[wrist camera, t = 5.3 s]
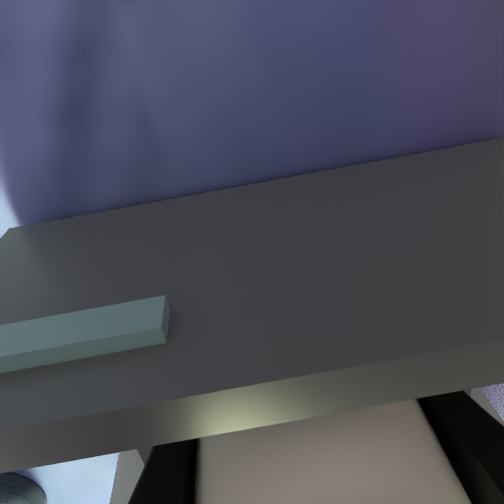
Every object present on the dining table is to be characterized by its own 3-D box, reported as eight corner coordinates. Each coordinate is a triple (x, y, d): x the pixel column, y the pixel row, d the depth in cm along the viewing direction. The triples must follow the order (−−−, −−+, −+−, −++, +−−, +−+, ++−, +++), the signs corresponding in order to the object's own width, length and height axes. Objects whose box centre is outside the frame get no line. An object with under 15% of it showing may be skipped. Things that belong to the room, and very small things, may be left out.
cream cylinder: (402, 297, 10) (509, 464, 6) (397, 443, 12) (472, 619, 9) (176, 335, 10) (158, 524, 6) (217, 474, 12) (221, 662, 9)
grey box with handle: (516, 123, 11) (839, 260, 5) (478, 394, 16) (626, 614, 10) (3, 218, 11) (-207, 449, 6) (123, 458, 16) (77, 711, 10)
